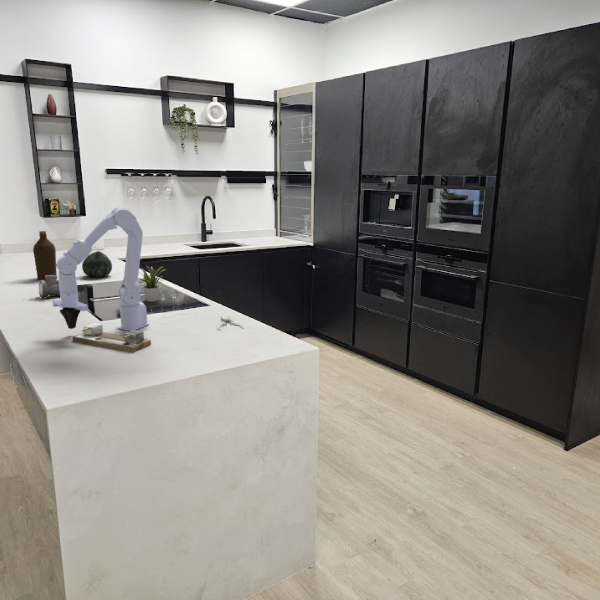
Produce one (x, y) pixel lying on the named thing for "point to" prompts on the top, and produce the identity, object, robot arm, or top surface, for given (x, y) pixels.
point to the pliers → (229, 322)
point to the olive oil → (44, 257)
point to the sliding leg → (92, 329)
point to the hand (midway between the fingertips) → (72, 328)
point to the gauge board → (116, 340)
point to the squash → (97, 265)
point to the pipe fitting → (49, 286)
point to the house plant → (151, 284)
